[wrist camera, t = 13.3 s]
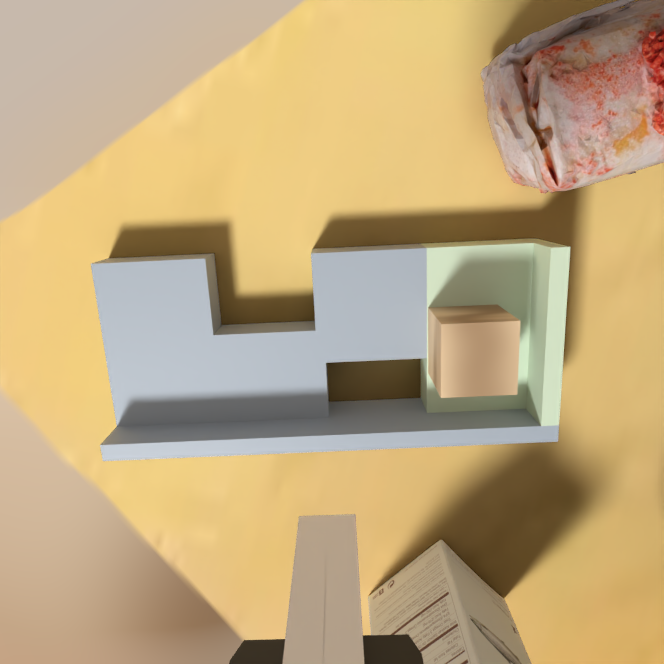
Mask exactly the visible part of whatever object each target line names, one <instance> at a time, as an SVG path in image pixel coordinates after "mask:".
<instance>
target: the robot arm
mask: <svg viewBox="0 0 664 664" xmlns="http://www.w3.org/2000/svg"><path fill="white" fill-rule="evenodd" d="M229 664H424V663H423V657H422V653H421V652H420V651H419V649H418V648H417V646H416V645H415V643H414V642H413V640H412V639H411V637H410V636H409V634H402V635H365V636H363V632H362V616H361V599H360V582H359V566H358V549H357V532H356V516H355V514H351V515H318V516H299V522H298V531H297V539H296V548H295V557H294V566H293V575H292V584H291V593H290V601H289V610H288V619H287V628H286V637H285V639H276V640H244V641H243V643H242V644H241V646H240V647H239V648H238V650H237V651H236V653H235V654H234V656H233V657H232V659H231V660H230V663H229Z"/></svg>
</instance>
